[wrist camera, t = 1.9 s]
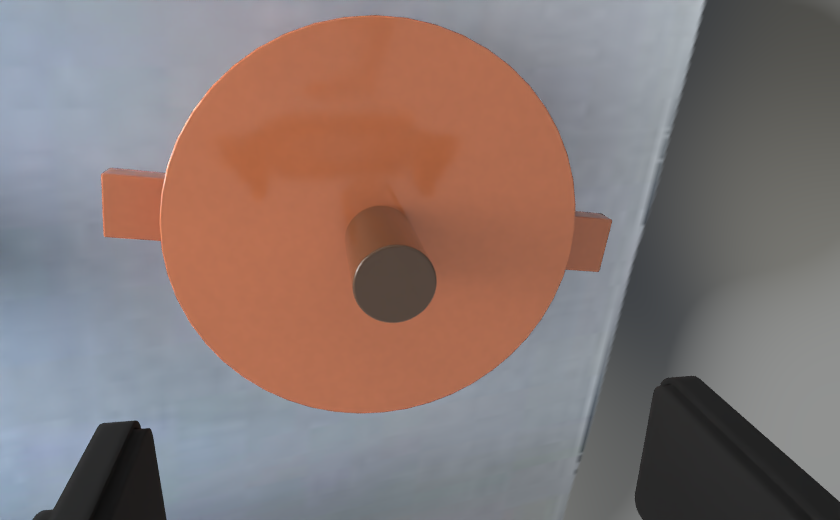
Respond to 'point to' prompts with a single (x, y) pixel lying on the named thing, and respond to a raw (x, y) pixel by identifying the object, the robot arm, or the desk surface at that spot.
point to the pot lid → (367, 214)
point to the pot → (141, 196)
